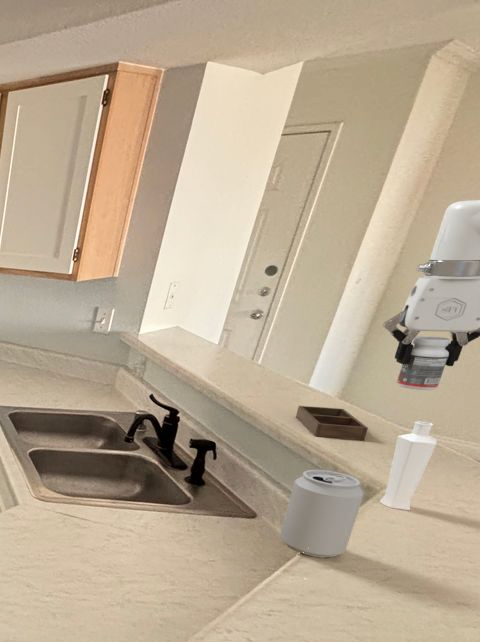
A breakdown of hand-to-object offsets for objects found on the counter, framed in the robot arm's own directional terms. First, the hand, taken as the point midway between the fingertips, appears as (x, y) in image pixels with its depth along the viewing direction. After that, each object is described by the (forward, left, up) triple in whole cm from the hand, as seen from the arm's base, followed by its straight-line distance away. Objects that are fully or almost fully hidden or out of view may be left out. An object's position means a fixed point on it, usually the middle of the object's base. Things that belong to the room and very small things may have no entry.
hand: (424, 363), depth 117 cm
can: (+26, +55, -20) cm, 64 cm away
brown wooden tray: (+7, -16, -19) cm, 26 cm away
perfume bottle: (+9, +31, -20) cm, 38 cm away
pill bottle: (0, 0, -5) cm, 5 cm away
